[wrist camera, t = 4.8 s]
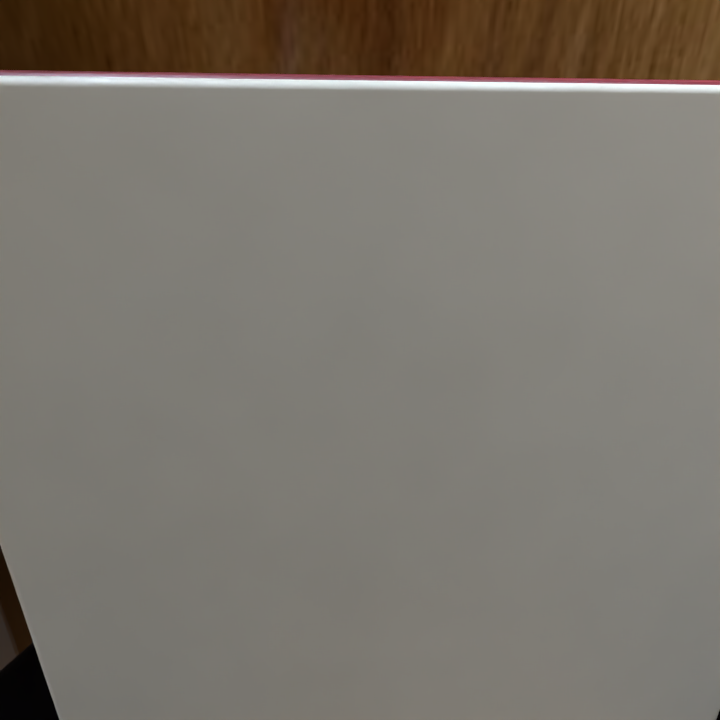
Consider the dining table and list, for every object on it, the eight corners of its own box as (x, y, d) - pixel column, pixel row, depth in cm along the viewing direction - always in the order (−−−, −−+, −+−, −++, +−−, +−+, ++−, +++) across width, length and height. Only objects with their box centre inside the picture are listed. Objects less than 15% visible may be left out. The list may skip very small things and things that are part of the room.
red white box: (487, 694, 11) (618, 1034, 7) (234, 731, 10) (185, 1139, 6) (545, 153, 7) (969, 66, 3) (143, 155, 6) (-218, 44, 2)
